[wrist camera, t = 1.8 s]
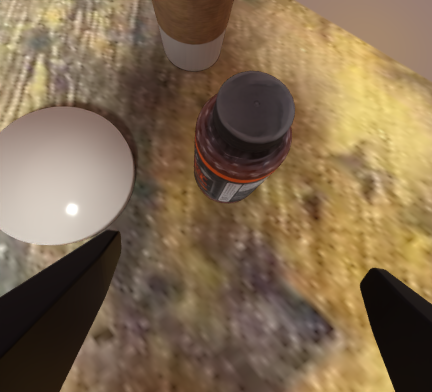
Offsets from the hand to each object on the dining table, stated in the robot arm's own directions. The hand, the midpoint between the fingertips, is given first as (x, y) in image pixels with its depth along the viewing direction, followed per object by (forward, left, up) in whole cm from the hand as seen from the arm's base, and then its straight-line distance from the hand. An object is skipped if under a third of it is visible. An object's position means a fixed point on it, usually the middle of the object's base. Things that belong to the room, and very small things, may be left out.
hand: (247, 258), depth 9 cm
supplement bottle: (+6, +4, -13) cm, 15 cm away
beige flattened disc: (-3, +15, -13) cm, 20 cm away
